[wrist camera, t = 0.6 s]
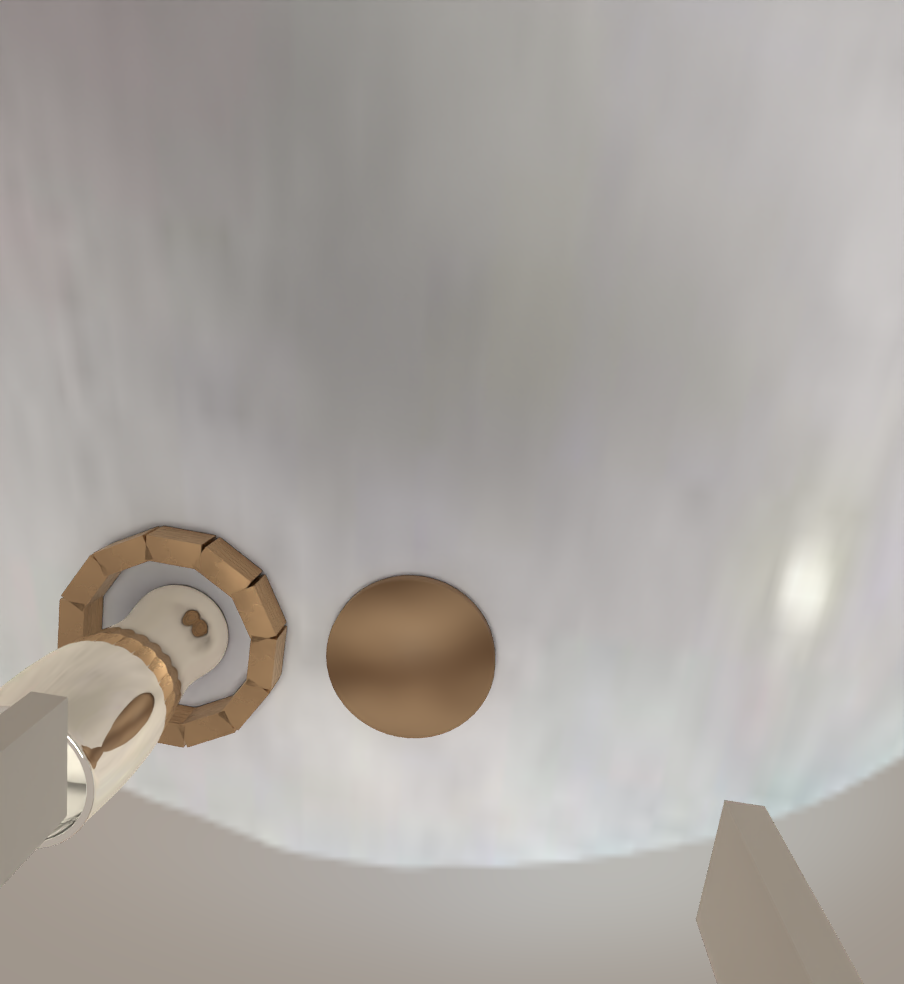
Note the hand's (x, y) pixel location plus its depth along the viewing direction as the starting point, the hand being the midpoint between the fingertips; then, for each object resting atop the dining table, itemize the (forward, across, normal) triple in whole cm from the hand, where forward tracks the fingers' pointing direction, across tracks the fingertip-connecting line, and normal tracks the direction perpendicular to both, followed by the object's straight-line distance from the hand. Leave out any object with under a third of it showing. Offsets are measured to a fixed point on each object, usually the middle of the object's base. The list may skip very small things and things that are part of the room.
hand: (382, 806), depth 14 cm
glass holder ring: (+27, -16, -10) cm, 33 cm away
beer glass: (+27, -16, -10) cm, 33 cm away
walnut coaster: (+27, -2, -10) cm, 29 cm away
